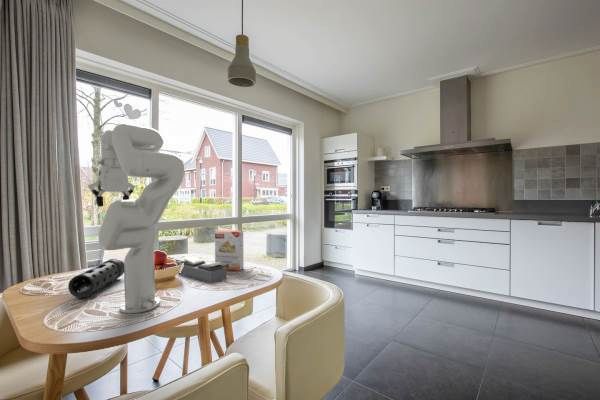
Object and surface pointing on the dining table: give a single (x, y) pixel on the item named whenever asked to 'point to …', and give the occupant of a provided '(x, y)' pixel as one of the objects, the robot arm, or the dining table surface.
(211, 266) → the near rocker
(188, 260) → the far rocker
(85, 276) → the muzzle brake
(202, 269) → the switch box
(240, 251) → the cracker box
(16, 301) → the dining table surface
